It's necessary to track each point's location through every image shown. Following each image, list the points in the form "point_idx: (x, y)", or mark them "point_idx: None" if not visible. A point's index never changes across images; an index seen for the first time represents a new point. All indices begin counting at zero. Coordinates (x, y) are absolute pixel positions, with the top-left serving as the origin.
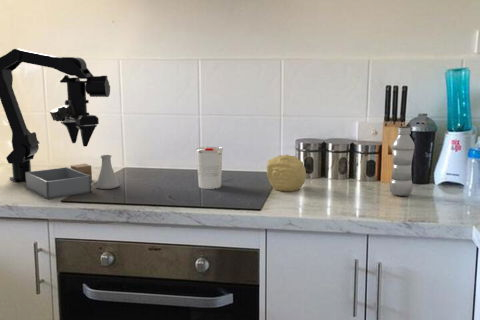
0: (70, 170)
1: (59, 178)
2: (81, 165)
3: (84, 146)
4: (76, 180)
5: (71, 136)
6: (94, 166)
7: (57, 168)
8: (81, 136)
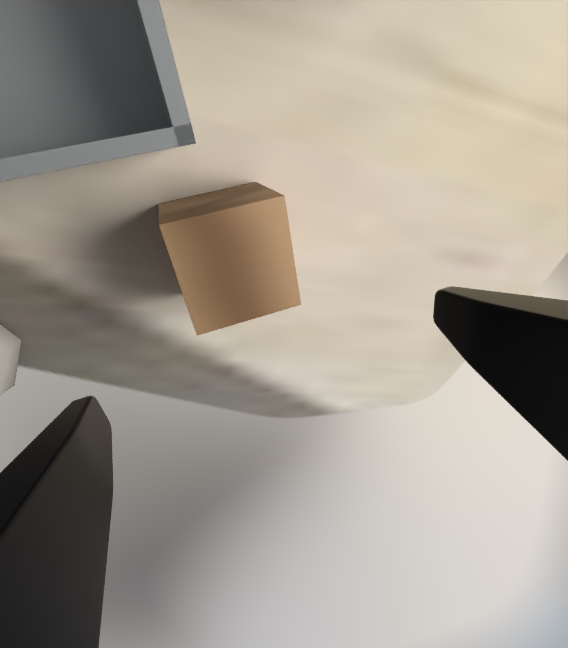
0: (57, 148)
1: (150, 60)
2: (235, 273)
3: (78, 405)
4: None
5: (511, 318)
6: None
7: (152, 25)
8: (2, 521)
